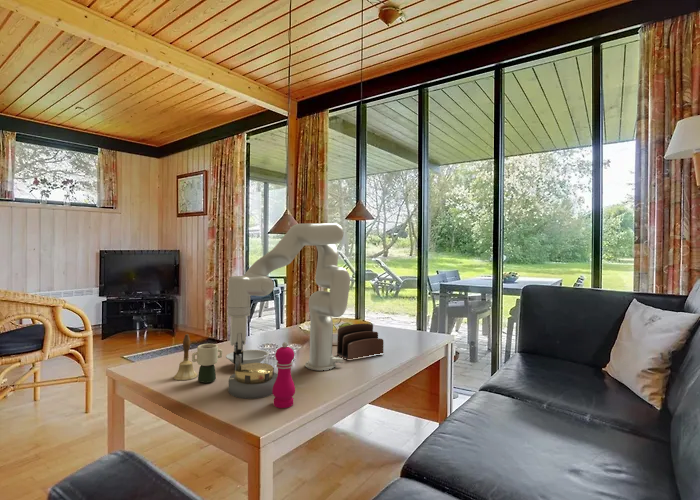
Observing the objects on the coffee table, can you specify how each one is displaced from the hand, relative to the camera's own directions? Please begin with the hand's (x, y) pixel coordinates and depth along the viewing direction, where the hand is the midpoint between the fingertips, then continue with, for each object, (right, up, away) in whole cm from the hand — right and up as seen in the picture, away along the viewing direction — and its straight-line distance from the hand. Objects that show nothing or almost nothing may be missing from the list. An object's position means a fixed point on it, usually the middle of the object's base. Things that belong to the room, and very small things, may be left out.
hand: (238, 362), depth 138 cm
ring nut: (+6, -5, -1) cm, 8 cm away
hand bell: (-22, -8, +9) cm, 26 cm away
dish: (-3, -9, +23) cm, 25 cm away
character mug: (-13, -9, +5) cm, 16 cm away
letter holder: (+44, -10, +44) cm, 63 cm away
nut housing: (+6, -9, -1) cm, 11 cm away
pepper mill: (+18, -10, -13) cm, 25 cm away
